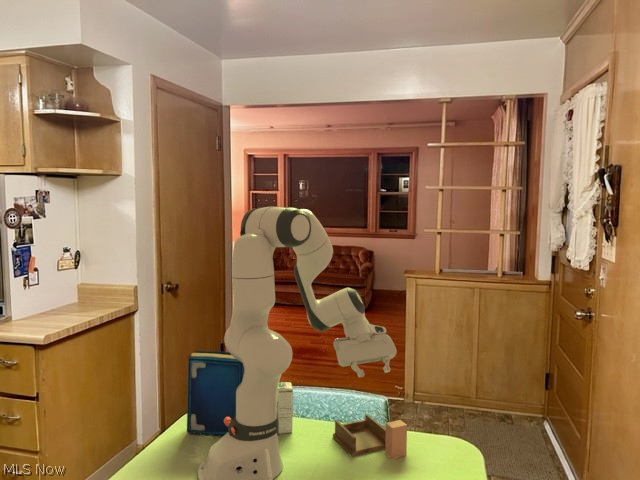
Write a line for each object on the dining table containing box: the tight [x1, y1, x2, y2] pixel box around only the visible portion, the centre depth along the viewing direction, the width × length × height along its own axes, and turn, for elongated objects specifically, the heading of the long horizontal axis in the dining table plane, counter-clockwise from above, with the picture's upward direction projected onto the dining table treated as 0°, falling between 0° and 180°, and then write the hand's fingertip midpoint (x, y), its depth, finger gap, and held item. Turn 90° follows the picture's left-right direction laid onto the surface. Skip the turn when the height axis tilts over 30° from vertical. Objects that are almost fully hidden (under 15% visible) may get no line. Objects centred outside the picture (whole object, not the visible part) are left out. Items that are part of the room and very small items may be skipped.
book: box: [186, 350, 244, 437], centre depth 142 cm, size 22×7×25 cm, turn 84°
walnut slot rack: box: [332, 413, 386, 457], centre depth 136 cm, size 13×12×5 cm
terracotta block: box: [384, 419, 408, 460], centre depth 130 cm, size 5×3×9 cm
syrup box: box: [277, 381, 294, 435], centre depth 144 cm, size 6×6×14 cm
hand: (375, 374), depth 140 cm, fingers open, 8 cm apart
